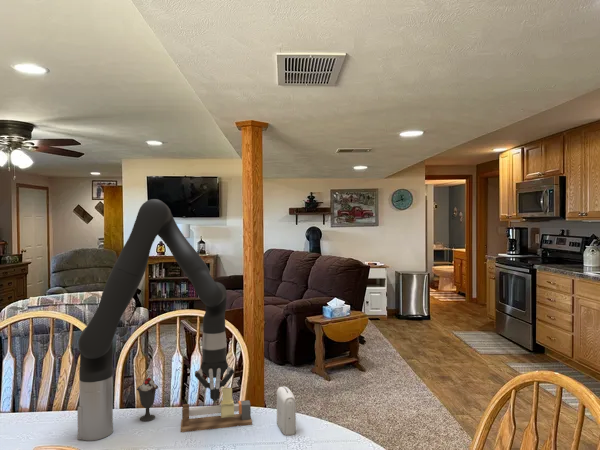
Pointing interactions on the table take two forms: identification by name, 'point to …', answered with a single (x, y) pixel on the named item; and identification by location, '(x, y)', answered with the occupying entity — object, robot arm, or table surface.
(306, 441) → the table surface
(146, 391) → the sundae
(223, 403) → the marker sleeve
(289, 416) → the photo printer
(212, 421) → the wooden bracket
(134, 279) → the robot arm
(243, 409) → the sliding door bolt
